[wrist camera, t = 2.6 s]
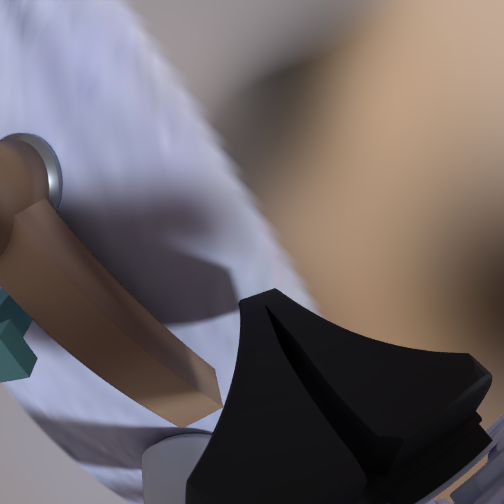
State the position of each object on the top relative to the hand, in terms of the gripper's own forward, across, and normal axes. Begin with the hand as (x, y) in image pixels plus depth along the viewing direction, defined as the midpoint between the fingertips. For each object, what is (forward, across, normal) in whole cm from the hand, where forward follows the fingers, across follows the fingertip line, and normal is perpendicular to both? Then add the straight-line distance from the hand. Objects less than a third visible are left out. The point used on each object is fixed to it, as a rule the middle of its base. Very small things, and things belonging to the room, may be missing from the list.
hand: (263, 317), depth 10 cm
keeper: (+1, +8, -3) cm, 9 cm away
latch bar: (+1, +5, -3) cm, 6 cm away
